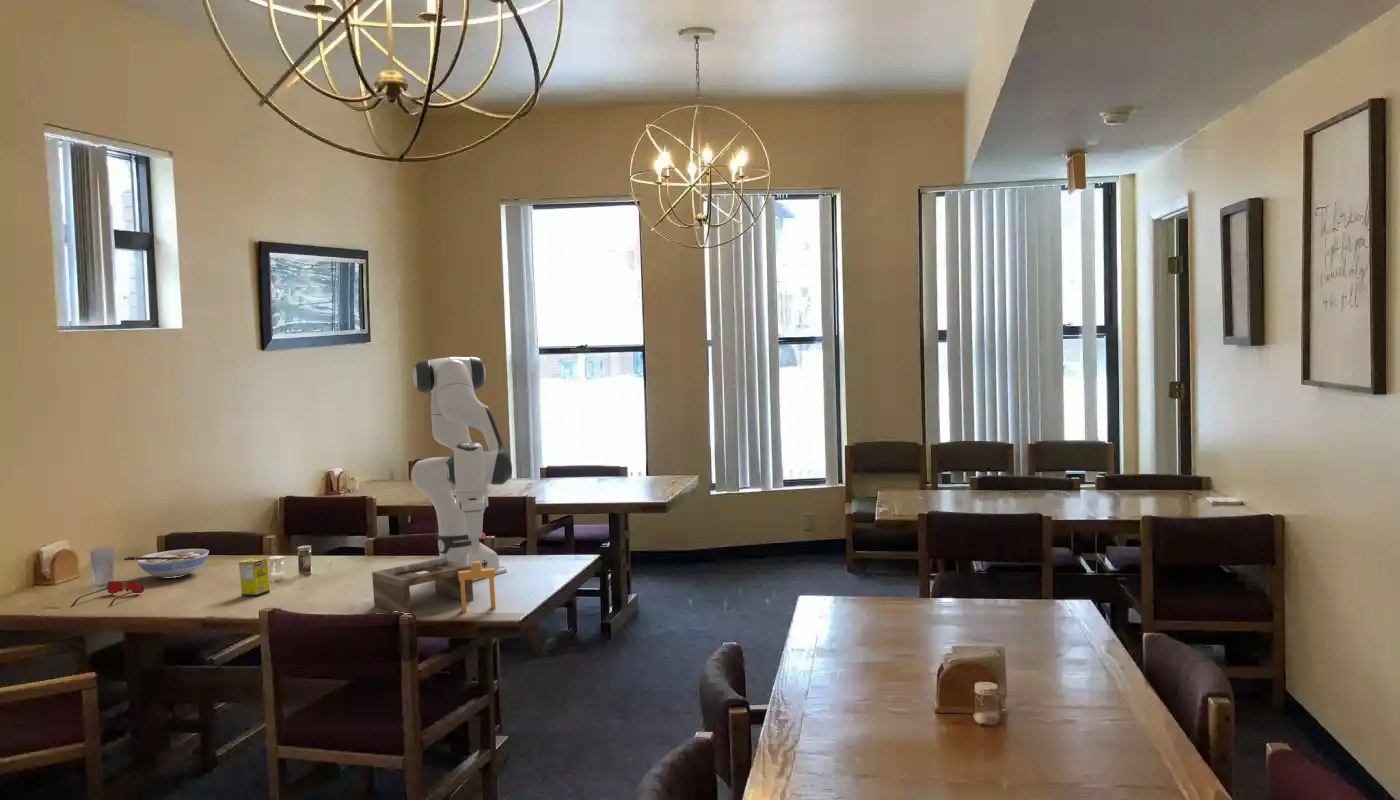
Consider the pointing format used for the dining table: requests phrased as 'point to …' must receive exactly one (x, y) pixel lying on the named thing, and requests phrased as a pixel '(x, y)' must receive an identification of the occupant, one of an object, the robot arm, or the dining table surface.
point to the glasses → (120, 589)
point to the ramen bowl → (172, 562)
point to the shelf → (396, 581)
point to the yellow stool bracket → (477, 574)
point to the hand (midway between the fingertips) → (475, 549)
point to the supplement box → (254, 577)
